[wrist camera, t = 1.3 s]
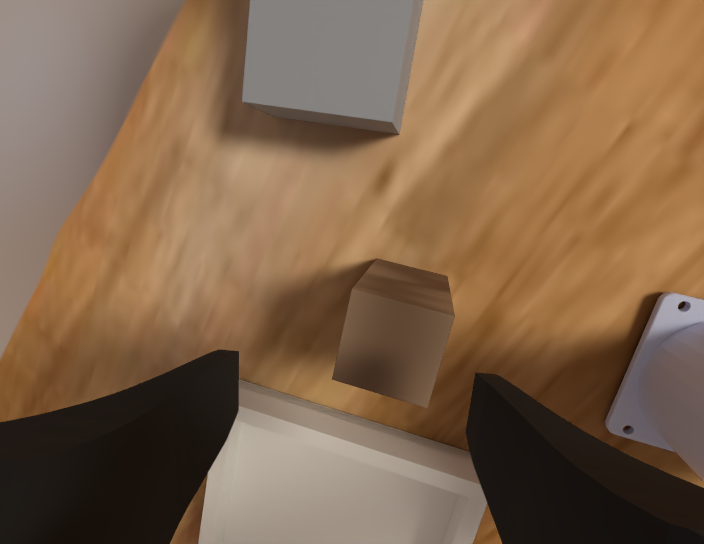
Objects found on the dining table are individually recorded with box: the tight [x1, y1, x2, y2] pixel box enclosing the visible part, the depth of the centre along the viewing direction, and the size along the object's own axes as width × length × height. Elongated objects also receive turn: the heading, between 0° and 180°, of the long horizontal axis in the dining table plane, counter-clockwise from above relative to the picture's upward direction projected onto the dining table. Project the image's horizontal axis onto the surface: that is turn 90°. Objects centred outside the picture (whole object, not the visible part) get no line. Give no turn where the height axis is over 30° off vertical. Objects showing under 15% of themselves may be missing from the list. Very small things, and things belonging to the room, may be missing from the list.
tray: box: [198, 379, 487, 544], centre depth 24 cm, size 16×14×2 cm
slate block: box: [242, 0, 423, 134], centre depth 18 cm, size 7×7×4 cm
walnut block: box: [332, 259, 455, 408], centre depth 18 cm, size 4×4×7 cm
